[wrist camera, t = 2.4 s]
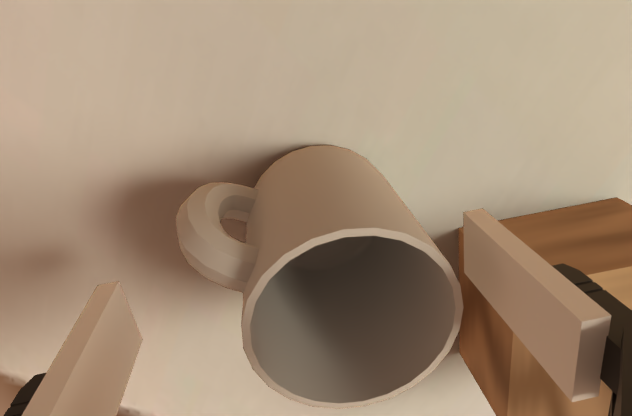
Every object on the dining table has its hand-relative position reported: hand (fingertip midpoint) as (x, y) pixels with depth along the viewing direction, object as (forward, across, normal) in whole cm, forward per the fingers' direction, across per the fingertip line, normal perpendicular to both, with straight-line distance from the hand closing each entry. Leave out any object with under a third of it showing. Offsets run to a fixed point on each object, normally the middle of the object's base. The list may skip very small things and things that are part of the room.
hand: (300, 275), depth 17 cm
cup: (+6, 0, 0) cm, 6 cm away
